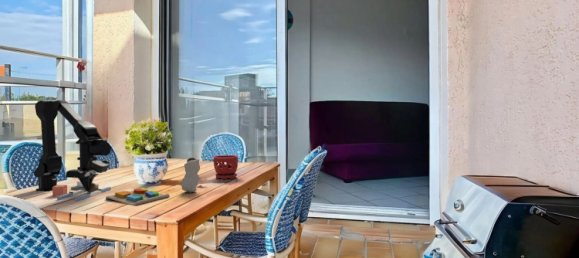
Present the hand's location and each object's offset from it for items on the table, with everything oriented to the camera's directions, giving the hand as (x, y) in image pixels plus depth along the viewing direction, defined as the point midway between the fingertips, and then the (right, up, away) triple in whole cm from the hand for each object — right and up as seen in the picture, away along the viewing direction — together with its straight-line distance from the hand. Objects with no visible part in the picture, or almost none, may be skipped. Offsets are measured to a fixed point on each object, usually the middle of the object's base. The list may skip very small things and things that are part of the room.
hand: (87, 190), depth 161 cm
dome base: (-7, -1, +12) cm, 14 cm away
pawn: (+1, -1, +3) cm, 3 cm away
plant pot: (+52, 0, +42) cm, 67 cm away
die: (-10, -1, -3) cm, 11 cm away
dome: (-8, 0, +12) cm, 14 cm away
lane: (0, -1, -1) cm, 2 cm away
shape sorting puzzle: (+24, -3, -6) cm, 25 cm away
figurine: (+42, -2, +6) cm, 43 cm away
